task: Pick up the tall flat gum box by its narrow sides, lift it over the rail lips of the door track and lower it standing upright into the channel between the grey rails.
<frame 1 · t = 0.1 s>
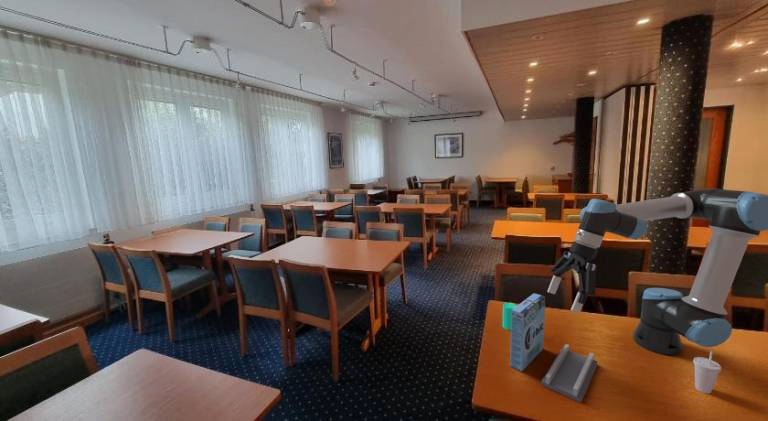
hand: (562, 301, 109), 28 cm above the table, tool tilted 20°, fingers open, 13 cm apart
candle: (509, 326, 145), on the table
smoothie: (702, 389, 104), on the table
gum box: (527, 357, 123), on the table
door track: (570, 374, 113), on the table
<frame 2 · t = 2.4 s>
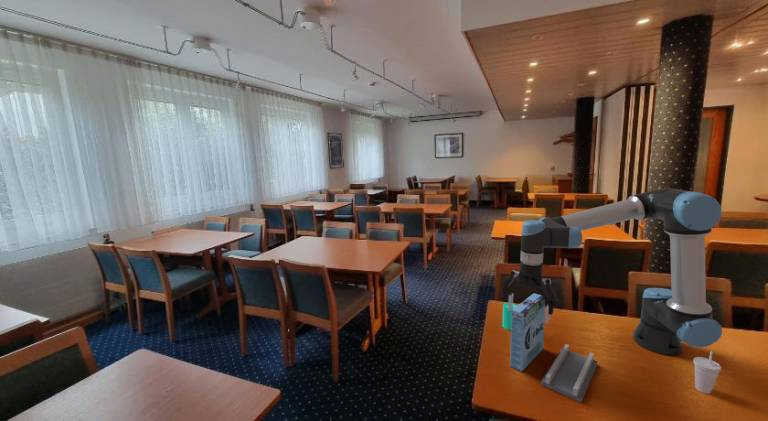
hand: (528, 315, 120), 18 cm above the table, tool pointing down, fingers open, 13 cm apart
nothing on the table moved.
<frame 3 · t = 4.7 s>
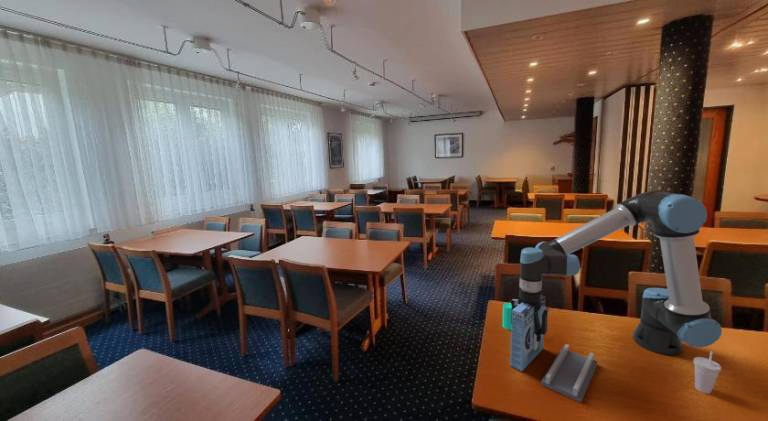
hand: (527, 344, 122), 5 cm above the table, tool pointing down, fingers closed on gum box, 5 cm apart
gum box: (527, 357, 123), on the table, touching gripper
everything else where it was.
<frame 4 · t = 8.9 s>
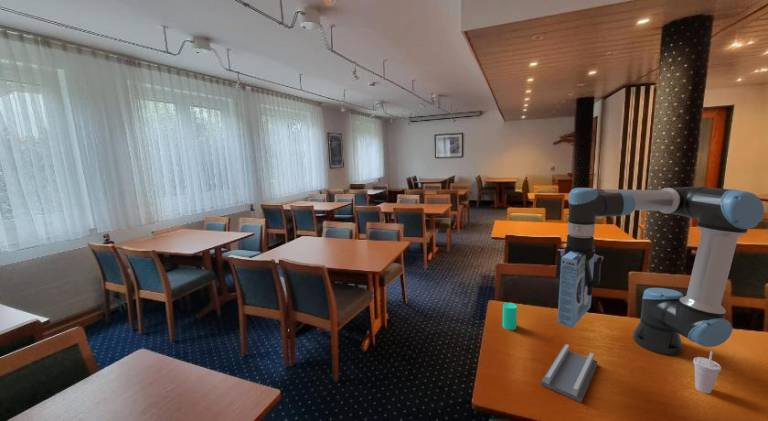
hand: (575, 300, 108), 29 cm above the table, tool pointing down, fingers closed on gum box, 5 cm apart
gum box: (574, 315, 109), point 23 cm above the table, touching gripper
everything else where it was.
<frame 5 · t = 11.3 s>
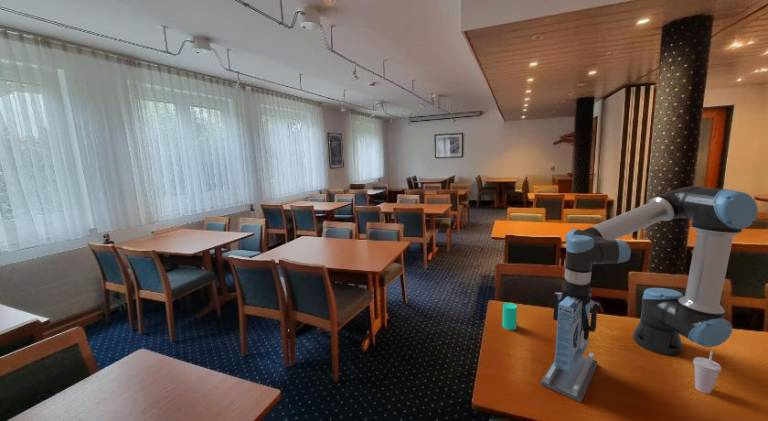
hand: (572, 343, 111), 12 cm above the table, tool pointing down, fingers closed on gum box, 5 cm apart
gum box: (571, 357, 112), point 7 cm above the table, touching gripper
everything else where it was.
when the fingers open (8 cm above the table, at t = 13.5 s): gum box stays where it is, resting on door track.
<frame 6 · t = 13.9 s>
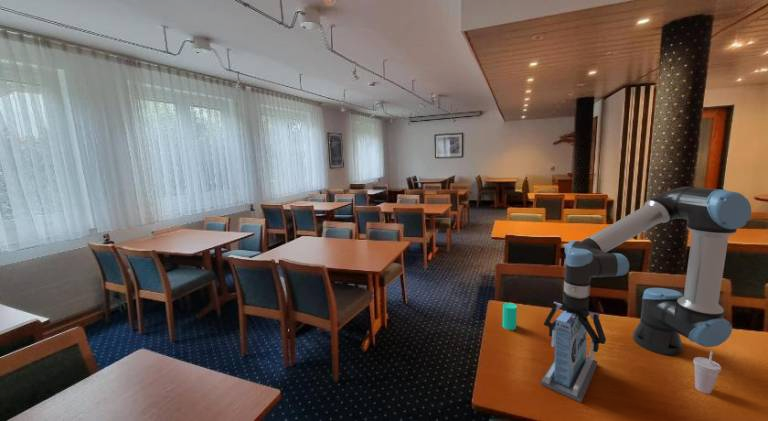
hand: (571, 351, 111), 9 cm above the table, tool pointing down, fingers open, 11 cm apart
gum box: (570, 371, 113), point 1 cm above the table, touching door track
everything else where it was.
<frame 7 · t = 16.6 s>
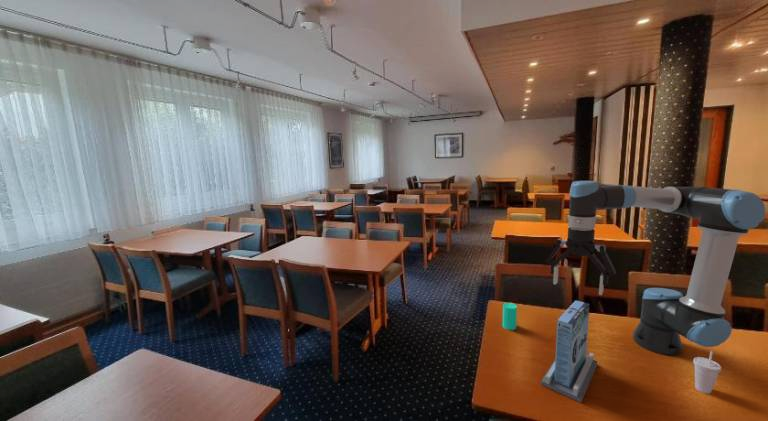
hand: (577, 288, 108), 33 cm above the table, tool pointing down, fingers open, 13 cm apart
nothing on the table moved.
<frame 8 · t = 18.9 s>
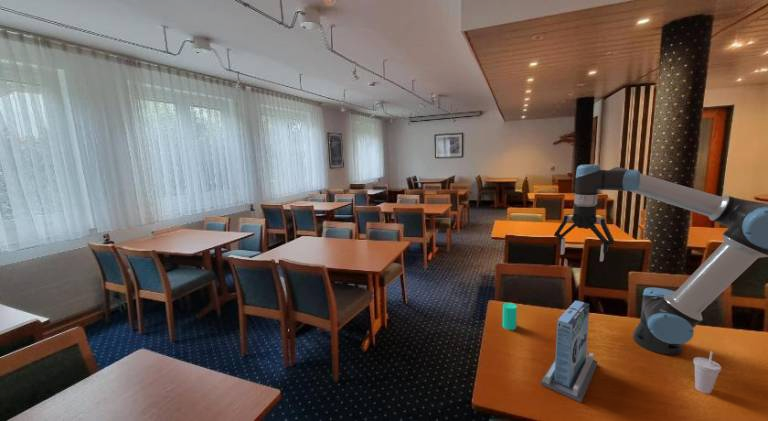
hand: (581, 257, 126), 37 cm above the table, tool pointing down, fingers open, 13 cm apart
nothing on the table moved.
at the end: gum box inside the target area on the door track (0.1 cm from its centre), point 1.3 cm above the door track's base; gum box tilted 0°; the gripper is holding nothing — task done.
